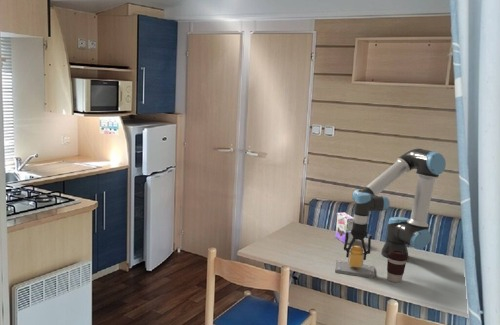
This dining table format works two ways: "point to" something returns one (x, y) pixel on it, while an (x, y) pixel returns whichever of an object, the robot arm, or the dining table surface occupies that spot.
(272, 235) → the dining table surface
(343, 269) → the plate
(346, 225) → the candy box
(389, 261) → the coffee cup
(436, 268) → the dining table surface
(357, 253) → the wire nut
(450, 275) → the dining table surface
